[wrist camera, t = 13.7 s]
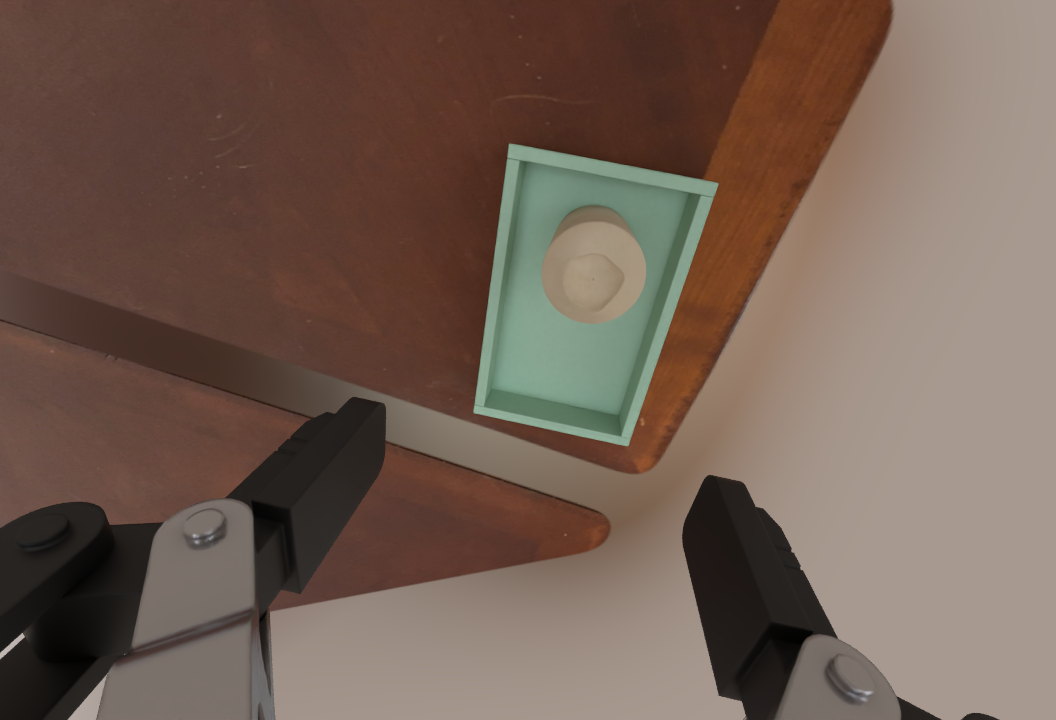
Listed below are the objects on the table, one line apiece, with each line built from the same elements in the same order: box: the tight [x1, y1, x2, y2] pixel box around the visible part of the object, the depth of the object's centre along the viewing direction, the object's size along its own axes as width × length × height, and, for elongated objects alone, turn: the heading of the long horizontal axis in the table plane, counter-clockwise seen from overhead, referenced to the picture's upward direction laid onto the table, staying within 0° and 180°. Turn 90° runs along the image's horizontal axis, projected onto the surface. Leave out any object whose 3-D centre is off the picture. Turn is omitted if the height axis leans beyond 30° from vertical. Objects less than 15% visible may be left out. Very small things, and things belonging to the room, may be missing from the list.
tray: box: [474, 144, 718, 446], centre depth 31 cm, size 20×13×4 cm, turn 170°
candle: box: [542, 205, 646, 324], centre depth 26 cm, size 6×6×10 cm
